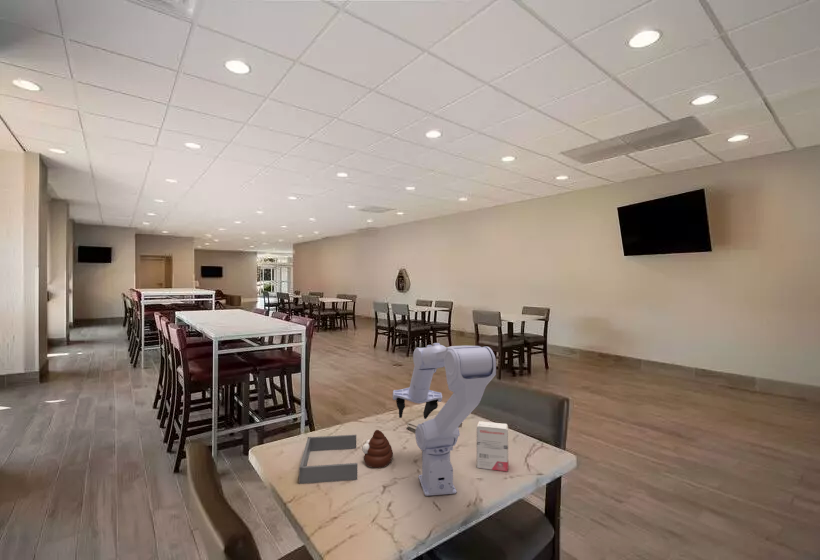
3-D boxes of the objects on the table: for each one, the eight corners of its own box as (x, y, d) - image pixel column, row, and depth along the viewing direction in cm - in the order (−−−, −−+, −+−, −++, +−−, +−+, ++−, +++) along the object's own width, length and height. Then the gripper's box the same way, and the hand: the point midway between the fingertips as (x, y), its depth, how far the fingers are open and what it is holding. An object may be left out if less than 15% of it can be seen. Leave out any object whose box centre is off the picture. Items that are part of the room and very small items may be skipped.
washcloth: (404, 430, 134) (404, 421, 134) (439, 418, 146) (439, 410, 146) (427, 440, 125) (427, 431, 125) (462, 427, 137) (463, 419, 137)
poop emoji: (388, 470, 104) (388, 436, 104) (358, 467, 105) (358, 434, 106) (395, 454, 114) (396, 423, 114) (368, 452, 115) (368, 421, 115)
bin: (357, 479, 99) (357, 464, 99) (299, 483, 96) (299, 468, 97) (356, 447, 119) (356, 434, 119) (307, 450, 116) (307, 437, 116)
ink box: (508, 464, 108) (508, 423, 108) (508, 472, 103) (508, 429, 103) (477, 460, 110) (478, 419, 110) (476, 468, 106) (476, 425, 106)
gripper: (442, 374, 113) (433, 406, 119) (394, 371, 111) (388, 404, 117) (447, 391, 107) (437, 424, 113) (396, 389, 104) (389, 423, 111)
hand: (412, 415), depth 115 cm, fingers open, 7 cm apart
